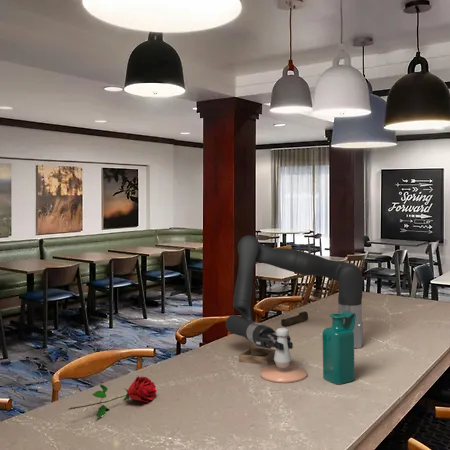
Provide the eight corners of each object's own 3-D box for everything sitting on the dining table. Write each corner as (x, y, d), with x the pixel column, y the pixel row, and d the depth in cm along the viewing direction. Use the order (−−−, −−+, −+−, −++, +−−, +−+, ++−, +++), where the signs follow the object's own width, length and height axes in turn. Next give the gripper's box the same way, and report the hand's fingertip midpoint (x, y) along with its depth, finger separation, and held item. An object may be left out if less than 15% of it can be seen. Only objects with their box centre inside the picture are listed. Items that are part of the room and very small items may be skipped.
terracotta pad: (311, 369, 182) (311, 367, 182) (300, 385, 167) (300, 382, 167) (268, 365, 188) (268, 362, 188) (253, 379, 173) (253, 377, 173)
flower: (75, 387, 140) (160, 367, 162) (58, 396, 145) (143, 376, 167) (82, 421, 137) (168, 396, 159) (65, 429, 142) (151, 404, 164)
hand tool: (287, 328, 242) (287, 318, 242) (280, 326, 245) (280, 316, 245) (312, 321, 255) (312, 311, 254) (305, 319, 258) (305, 310, 257)
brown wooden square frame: (276, 355, 199) (276, 349, 199) (267, 364, 189) (267, 357, 189) (249, 353, 203) (249, 347, 203) (239, 361, 193) (239, 355, 193)
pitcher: (337, 385, 166) (336, 318, 165) (320, 377, 174) (319, 313, 173) (360, 380, 171) (359, 314, 170) (343, 372, 178) (342, 309, 177)
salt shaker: (272, 363, 180) (272, 326, 180) (289, 362, 181) (288, 326, 180) (275, 369, 175) (275, 331, 174) (292, 368, 175) (292, 330, 174)
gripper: (243, 327, 187) (269, 338, 171) (276, 322, 193) (304, 332, 178) (244, 347, 187) (269, 361, 172) (276, 341, 193) (304, 354, 178)
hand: (287, 346), depth 175 cm, fingers closed on salt shaker, 3 cm apart
